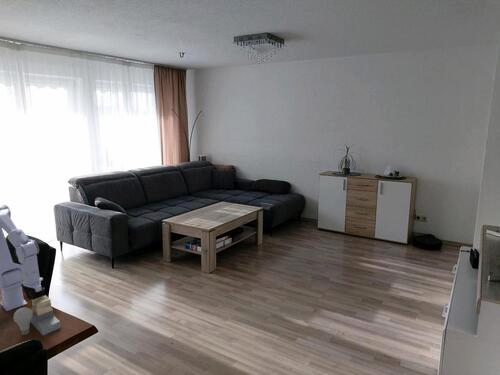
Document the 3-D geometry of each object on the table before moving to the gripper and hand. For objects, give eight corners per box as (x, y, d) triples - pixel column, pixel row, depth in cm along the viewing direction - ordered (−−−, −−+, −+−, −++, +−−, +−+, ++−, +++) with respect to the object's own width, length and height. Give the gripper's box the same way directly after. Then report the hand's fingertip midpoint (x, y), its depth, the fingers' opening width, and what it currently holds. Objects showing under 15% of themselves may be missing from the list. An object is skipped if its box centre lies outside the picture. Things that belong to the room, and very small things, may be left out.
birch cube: (33, 311, 143) (31, 300, 142) (46, 306, 147) (45, 295, 146) (38, 316, 140) (36, 304, 139) (51, 310, 144) (50, 299, 143)
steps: (29, 321, 146) (27, 309, 145) (47, 314, 151) (45, 302, 150) (43, 335, 137) (41, 322, 136) (60, 327, 142) (59, 314, 141)
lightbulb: (26, 340, 134) (22, 313, 132) (12, 338, 136) (8, 311, 133) (39, 330, 140) (35, 305, 138) (25, 328, 141) (21, 303, 139)
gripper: (47, 273, 144) (52, 304, 147) (34, 263, 153) (38, 292, 156) (28, 279, 139) (32, 311, 142) (15, 268, 148) (20, 298, 151)
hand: (34, 301), depth 149 cm, fingers open, 7 cm apart
